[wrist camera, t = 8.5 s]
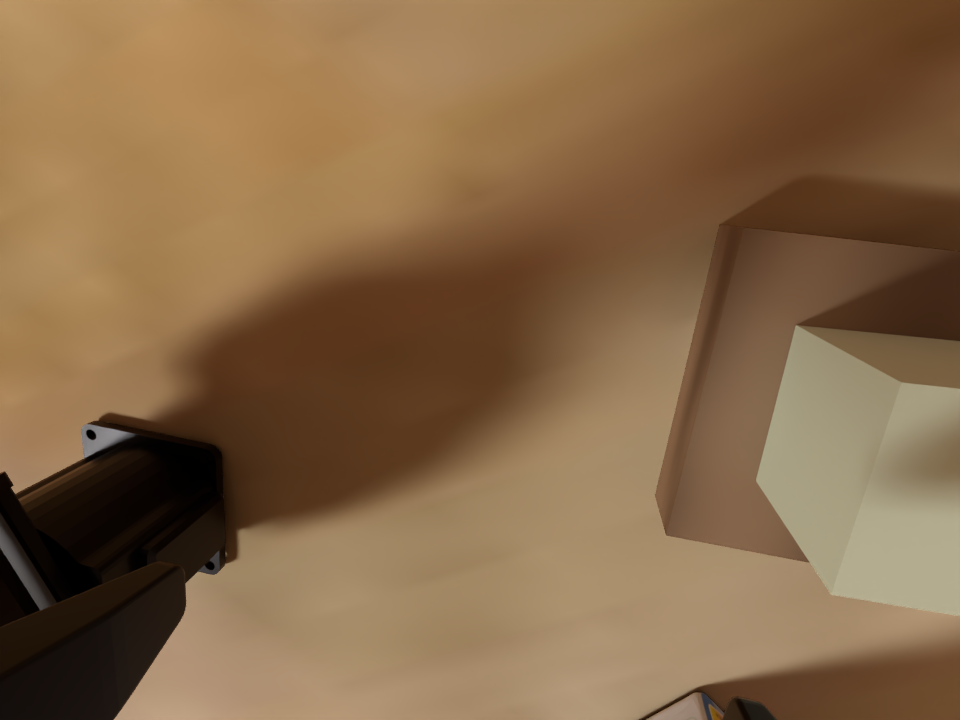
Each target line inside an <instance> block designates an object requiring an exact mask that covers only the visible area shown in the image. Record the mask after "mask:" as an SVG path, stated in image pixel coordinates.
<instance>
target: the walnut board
mask: <svg viewBox="0 0 960 720" xmlns="http://www.w3.org/2000/svg"><path fill="white" fill-rule="evenodd" d="M796 325H800V326H810V327H820V328H831V329H841V330H851V331H861V332H871V333H882V334H892V335H902V336H912V337H922V338H933V339H943V340H953V341H960V251H953V250H944V249H935V248H926V247H917V246H908V245H899V244H890V243H881V242H872V241H863V240H854V239H845V238H836V237H827V236H818V235H809V234H800V233H791V232H782V231H773V230H764V229H755V228H746V227H737V226H727V225H719V230H718V234H717V238H716V242H715V246H714V251H713V255H712V259H711V263H710V267H709V272H708V276H707V280H706V284H705V288H704V293H703V297H702V301H701V305H700V309H699V313H698V318H697V322H696V326H695V330H694V334H693V339H692V343H691V347H690V351H689V355H688V360H687V364H686V368H685V372H684V376H683V381H682V385H681V389H680V393H679V397H678V402H677V406H676V410H675V414H674V418H673V422H672V427H671V431H670V435H669V439H668V443H667V448H666V452H665V456H664V460H663V464H662V469H661V473H660V477H659V481H658V485H657V490H656V494H655V497H656V500H657V504H658V508H659V511H660V515H661V518H662V522H663V526H664V529H665V533H666V535H667V536H673V537H678V538H683V539H688V540H694V541H699V542H704V543H709V544H714V545H720V546H725V547H730V548H735V549H741V550H746V551H751V552H756V553H762V554H767V555H772V556H777V557H783V558H788V559H793V560H798V561H804V562H809V561H808V559H807V558H806V556H805V555H804V553H803V552H802V550H801V548H800V547H799V545H798V544H797V542H796V541H795V539H794V538H793V536H792V535H791V533H790V532H789V530H788V529H787V527H786V526H785V524H784V523H783V521H782V520H781V518H780V517H779V515H778V514H777V512H776V511H775V509H774V508H773V506H772V504H771V503H770V501H769V500H768V498H767V497H766V495H765V494H764V492H763V491H762V489H761V488H760V486H759V485H758V483H757V482H756V478H757V474H758V470H759V466H760V462H761V459H762V455H763V451H764V447H765V443H766V439H767V435H768V431H769V427H770V424H771V420H772V416H773V412H774V408H775V404H776V400H777V396H778V392H779V389H780V385H781V381H782V377H783V373H784V369H785V365H786V361H787V358H788V354H789V350H790V346H791V342H792V338H793V334H794V330H795V326H796ZM809 563H810V562H809Z"/></svg>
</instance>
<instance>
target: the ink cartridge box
mask: <svg viewBox="0 0 960 720" xmlns="http://www.w3.org/2000/svg"><path fill="white" fill-rule="evenodd" d="M723 716H724V712H723V711H722V710H721V709H720V708H719V707H718V706H717V705H716V704H715V703H714V702H713V701H712V700H711V699H710V698H709V697H708V696H707V695H706V694H704V693H693V694H691V695H689V696H688V697H686V698H684V699H682V700H680V701H679V702H677V703H675V704H673V705H671V706H670V707H668V708H666V709H664V710H662V711H660V712H659V713H657V714H655V715H653V716H651V717H650V718H648V719H646V720H722V718H723Z"/></svg>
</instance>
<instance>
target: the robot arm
mask: <svg viewBox="0 0 960 720" xmlns="http://www.w3.org/2000/svg"><path fill="white" fill-rule="evenodd" d="M81 435H82V443H83V451H84V459H82V460H80V461H78V462H76V463H75V464H73V465H71V466H69V467H67V468H65V469H63V470H61V471H59V472H57V473H55V474H53V475H51V476H49V477H47V478H46V479H44V480H42V481H40V482H38V483H36V484H34V485H32V486H30V487H28V488H26V489H24V490H22V491H20V492H18V493H17V494H15V493H14V492H13V490H12V488H11V487H12V486H13V483H12V482H11V480H10V478H9V477H8V475H7V474H6V472H2V473H0V720H114V718H115V717H116V716H117V714H118V713H119V712H120V710H121V709H122V708H123V706H124V705H125V703H126V702H127V700H128V699H129V698H130V696H131V695H132V693H133V692H134V690H135V689H136V687H137V686H138V684H139V682H140V681H141V679H142V678H143V676H144V675H145V673H146V672H147V670H148V669H149V667H150V666H151V664H152V663H153V661H154V660H155V658H156V657H157V655H158V654H159V652H160V651H161V649H162V648H163V646H164V645H165V643H166V642H167V640H168V639H169V637H170V636H171V634H172V633H173V631H174V630H175V628H176V626H177V625H178V623H179V622H180V620H181V619H182V616H183V614H184V611H185V608H186V588H185V583H186V582H187V581H188V580H189V579H190V578H192V577H193V576H194V575H195V574H196V573H197V572H203V573H207V574H212V575H214V574H217V573H218V572H219V571H220V570H221V569H222V568H223V567H224V566H225V514H224V498H223V475H222V455H221V452H220V451H219V449H218V448H217V447H215V446H213V445H211V444H206V443H201V442H197V441H192V440H187V439H182V438H177V437H173V436H168V435H163V434H158V433H154V432H149V431H144V430H139V429H135V428H130V427H125V426H120V425H116V424H111V423H106V422H101V421H93V422H90V423H88V424H86V425H84V426H83V427H82V429H81ZM206 454H207V455H208V456H209V457H210V459H208V457H207V456H206ZM722 720H777V719H776V718H775V717H774V716H773V714H772V713H771V712H770V711H769V710H768V709H767V708H766V707H765V706H764V705H763V704H762V703H760V702H758V701H754V700H750V699H746V698H742V697H737V696H736V697H732V698H731V699H730V701H729V702H728V705H727V708H726V710H725V713H724V716H723V718H722Z"/></svg>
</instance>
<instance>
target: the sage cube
mask: <svg viewBox="0 0 960 720" xmlns="http://www.w3.org/2000/svg"><path fill="white" fill-rule="evenodd" d="M756 482H757V483H758V485H759V486H760V488H761V489H762V491H763V492H764V494H765V495H766V497H767V498H768V500H769V501H770V503H771V504H772V506H773V508H774V509H775V511H776V512H777V514H778V515H779V517H780V518H781V520H782V521H783V523H784V524H785V526H786V527H787V529H788V530H789V532H790V533H791V535H792V536H793V538H794V539H795V541H796V542H797V544H798V545H799V547H800V548H801V550H802V552H803V553H804V555H805V556H806V558H807V559H808V561H809V562H810V564H811V565H812V567H813V568H814V570H815V571H816V573H817V574H818V576H819V577H820V579H821V580H822V582H823V583H824V585H825V586H826V588H827V589H828V591H829V592H830V594H831V595H835V596H841V597H847V598H853V599H859V600H865V601H871V602H877V603H883V604H889V605H895V606H901V607H907V608H913V609H919V610H925V611H931V612H937V613H943V614H949V615H955V616H960V341H953V340H943V339H933V338H922V337H912V336H902V335H892V334H882V333H871V332H861V331H851V330H841V329H831V328H820V327H810V326H800V325H796V326H795V330H794V334H793V338H792V342H791V346H790V350H789V354H788V358H787V361H786V365H785V369H784V373H783V377H782V381H781V385H780V389H779V392H778V396H777V400H776V404H775V408H774V412H773V416H772V420H771V424H770V427H769V431H768V435H767V439H766V443H765V447H764V451H763V455H762V459H761V462H760V466H759V470H758V474H757V478H756Z"/></svg>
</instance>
